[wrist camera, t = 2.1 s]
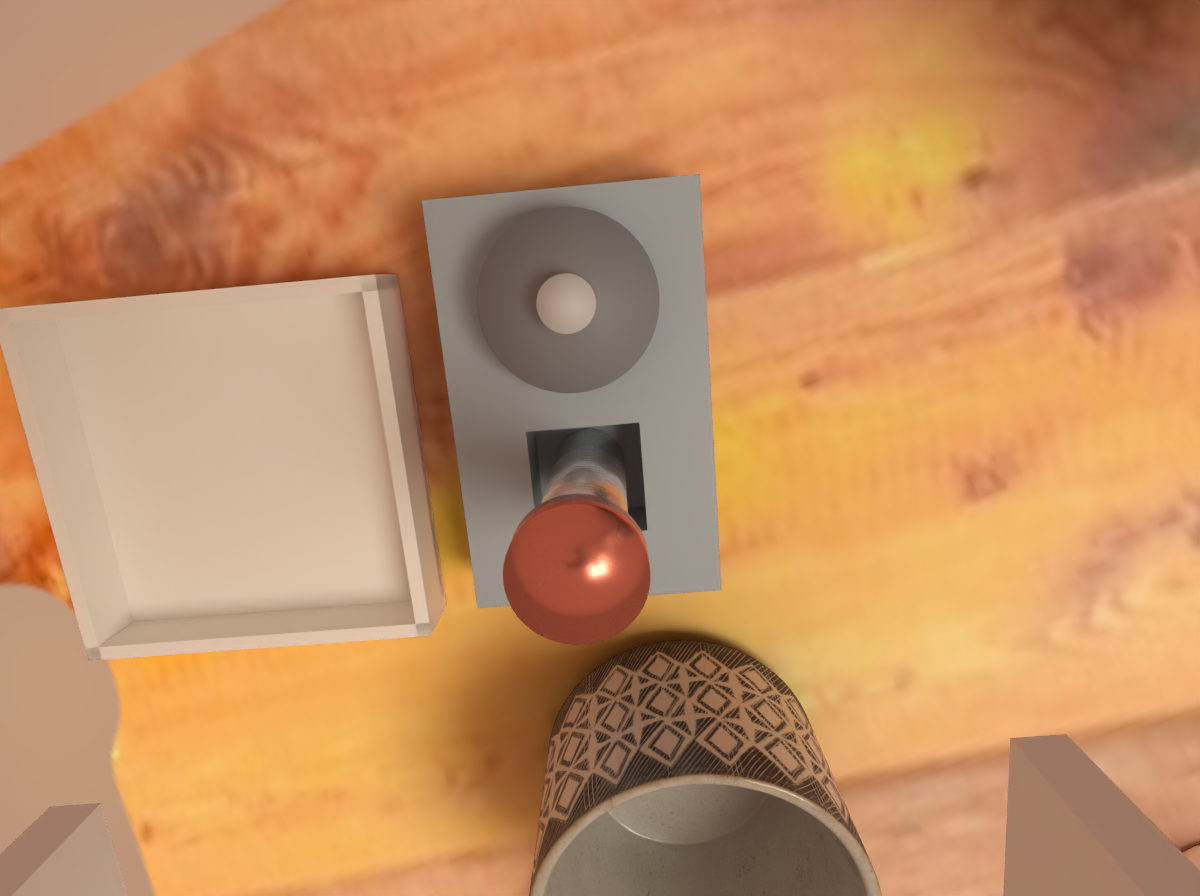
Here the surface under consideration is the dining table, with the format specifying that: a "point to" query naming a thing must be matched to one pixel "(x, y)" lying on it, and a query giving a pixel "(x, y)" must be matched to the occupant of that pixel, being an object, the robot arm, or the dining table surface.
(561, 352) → the block
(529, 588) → the lock pin
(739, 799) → the planter
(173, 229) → the dining table surface
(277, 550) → the tray
